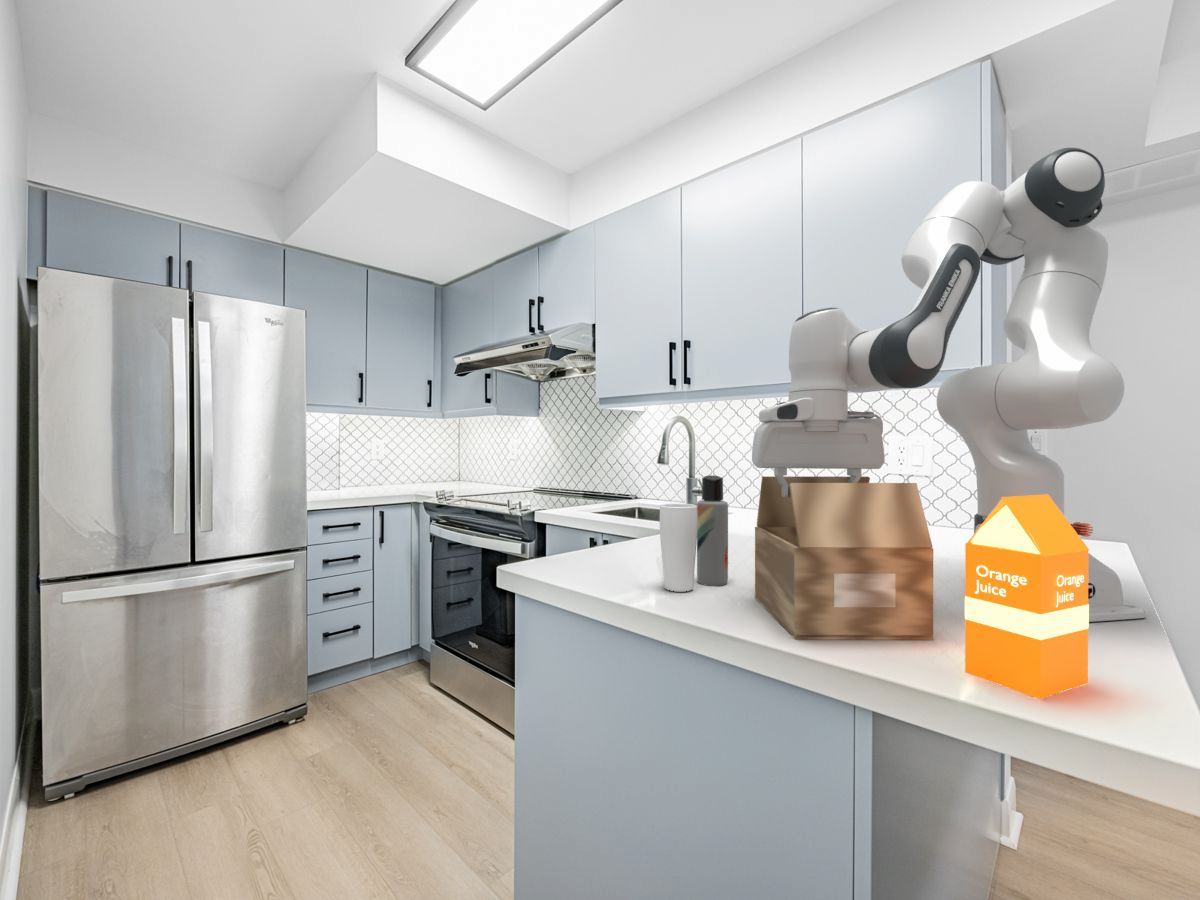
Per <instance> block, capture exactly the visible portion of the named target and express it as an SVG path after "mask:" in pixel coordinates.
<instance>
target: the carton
mask: <svg viewBox="0 0 1200 900" xmlns="http://www.w3.org/2000/svg"><path fill="white" fill-rule="evenodd" d="M754 599H755V600H756V601H757V602H758V603H759V604H760V605H761V606H762V607H763V608H764V609H765V610H766V611H767V612H768V613H769V614H770V615H771V616H772V617H773V618H774V619H775V621H777V622H778V623H779V624H780V625H781V626H782V627H783V628H784V629H785V631H787V632H788V634H790V635H791V636H792V637H793V638H794V639H795V640H829V641H830V640H837V641H838V640H842V641H843V640H845V641H846V640H853V641H855V640H857V641H858V640H859V641H860V640H861V641H862V640H865V641H867V640H869V641H871V640H872V641H873V640H874V641H875V640H876V641H879V640H880V641H881V640H882V641H885V640H889V641H890V640H891V641H895V640H898V641H906V640H907V641H911V640H912V641H933V640H934V548H931V549H880V548H799V546H798V539H797V532H796V527H757V526H755V527H754Z"/></svg>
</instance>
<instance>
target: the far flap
mask: <svg viewBox="0 0 1200 900" xmlns="http://www.w3.org/2000/svg"><path fill="white" fill-rule="evenodd" d="M784 478H785V480H786V482H787V484H788V485H789V484H790V483H847V482H848V480H849V479H850V476H784ZM870 478H871V477H869V476H861V478H860V479H859V481H858V482H857V483H870V481H871V479H870ZM789 486H790V485H789ZM759 491H760V493H759V498H758V499H759V500H758V509H757V517H756V518H757V519H756V527H796V526H795V519H794V512H793V505H792V499H791V497H782V496H781V486H780V484H779V482H778V480H777V478H776V477H775V476H761V483H760V490H759Z"/></svg>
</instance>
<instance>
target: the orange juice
mask: <svg viewBox="0 0 1200 900" xmlns="http://www.w3.org/2000/svg"><path fill="white" fill-rule="evenodd" d="M1001 498H1002V500H1001V501H1000V502H999V503H998V505H997V506H996V507H995V508H994V510H993V511H992V512H991V513H990V515H989V516H988V517H987V518H986V520H985V521H984V522H983V523H982V525H981V526H980V527H979V529H978V530H977V531H976V532H975V534H974V533H973V534H972V536H971V537H970V538H969V540H968V541H967V542H965V544H964V547H965V550H964V551H965V562H964V563H965V566H964V567H965V569H964V570H965V576H964V578H965V579H964V580H965V582H964V585H965V587H964V589H965V594H964V622H965V623H964V626H965V627H964V633H965V634H964V635H965V636H964V637H965V638H964V639H965V640H964V653H965V654H964V656H965V657H964V665H965V666H964V672H965V674H969V675H972V676H975V677H978V678H980V677H981V678H980V679H983V678H984V679H983V680H986V681H988V680H989V682H991V681H992V682H991V683H994V682H995V683H994V684H996V683H998V684H997V685H999V684H1001V685H1000V686H1002V685H1003V686H1002V687H1005V688H1007V687H1008V689H1010V690H1013V689H1014V690H1013V691H1016V692H1018V691H1019V692H1020V693H1021V692H1022V694H1025V695H1028V696H1029V695H1030V696H1029V697H1032V696H1033V697H1032V698H1035V697H1036V698H1035V699H1038V700H1043V699H1046V698H1045V697H1047V696H1050V695H1053V694H1056V693H1059V692H1061V691H1064V690H1067V689H1070V688H1074V687H1077V686H1080V685H1083V684H1086V683H1088V684H1089V627H1090V622H1089V604H1088V553H1089V551H1090V549H1089V547H1088V546H1087V544H1086V543H1085V542H1084V540H1083V539H1082V538H1081V536H1080V535H1078V534H1077V533H1076V531H1075V530H1074V529H1073V527H1072V526H1071V525H1070V524H1071V523H1070V522H1069V521H1068V520H1067V518H1066V517H1065V514H1064V515H1063V514H1062V513H1061V511H1060V510H1059V509H1058V507H1057V506H1056V505H1055V503H1054V502H1053V501H1052V499H1051V498H1050V497H1049V495H1031V496H1015V497H1001ZM1019 692H1018V693H1019ZM1059 694H1060V693H1059ZM1056 695H1057V694H1056ZM1053 696H1054V695H1053ZM1050 697H1051V696H1050ZM1042 698H1043V699H1042ZM1047 698H1048V697H1047Z"/></svg>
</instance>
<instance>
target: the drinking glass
mask: <svg viewBox="0 0 1200 900" xmlns="http://www.w3.org/2000/svg"><path fill="white" fill-rule="evenodd" d="M697 532H698V510H697V504H691V503H663V504H660V505H659V535H660V536H659V537H660V549H661V559H662V560H661V561H662V570H663V571H662V576H663V587H664V589H665V590H667V591H669V590H670V592H673V591H674V593H687V592H689V591H693V590H694V587H695V586H694V585H695V582H694V581H695V578H694V577H695V565H696V557H697ZM686 591H687V592H686Z"/></svg>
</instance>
